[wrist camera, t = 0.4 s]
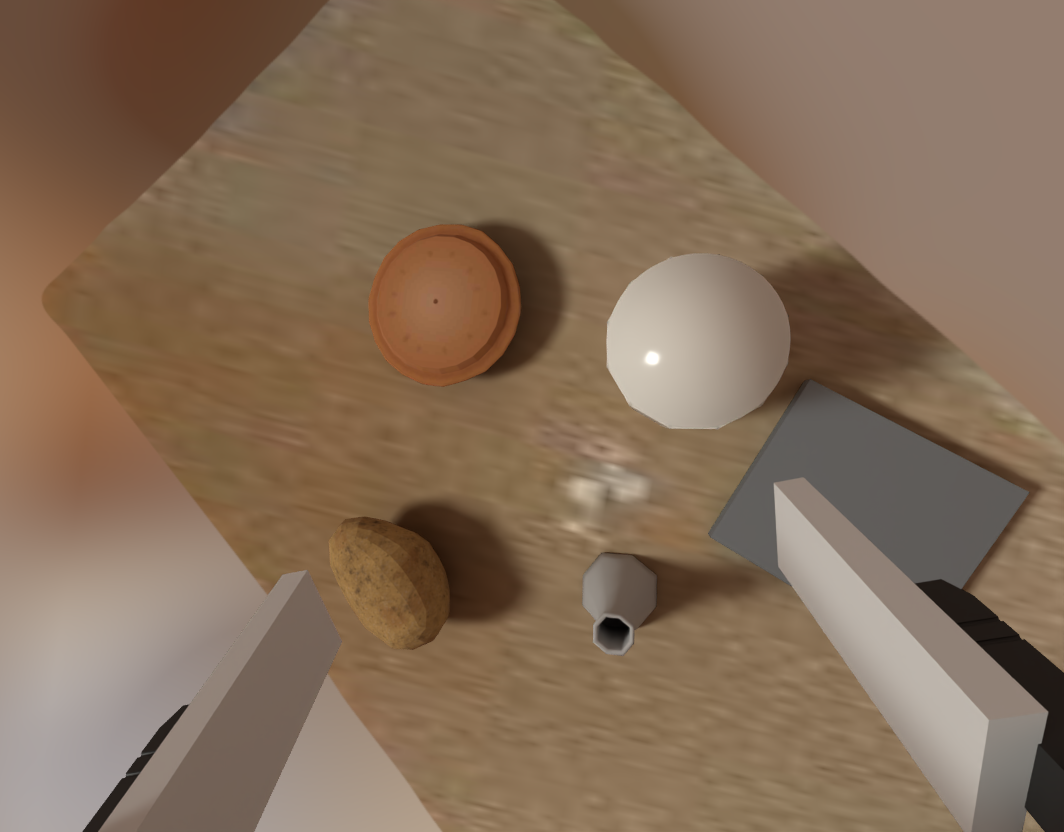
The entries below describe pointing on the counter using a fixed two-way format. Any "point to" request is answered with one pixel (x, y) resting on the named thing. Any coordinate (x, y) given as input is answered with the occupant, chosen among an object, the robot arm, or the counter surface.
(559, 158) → the counter surface
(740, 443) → the counter surface
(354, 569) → the potato
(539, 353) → the counter surface
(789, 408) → the slate board
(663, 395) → the white cylinder
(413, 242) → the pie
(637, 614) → the flask
